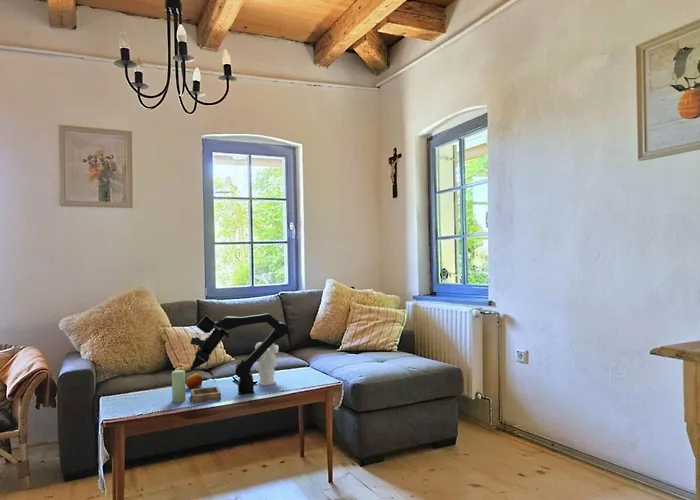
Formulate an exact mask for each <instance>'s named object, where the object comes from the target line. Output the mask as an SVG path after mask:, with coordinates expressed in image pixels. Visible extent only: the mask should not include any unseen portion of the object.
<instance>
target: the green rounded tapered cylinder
mask: <svg viewBox="0 0 700 500" xmlns="http://www.w3.org/2000/svg"><path fill="white" fill-rule="evenodd" d="M171 392H172V393H171V397H172V403H176V404H179V403H183V402H186V398H187V397H186V371H185V370H182V369H178V370H173V371H172V372H171Z"/></svg>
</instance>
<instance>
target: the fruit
mask: <svg viewBox="0 0 700 500" xmlns="http://www.w3.org/2000/svg"><path fill="white" fill-rule="evenodd" d="M203 379H204V378H203V375H201V373H192V374H190V375H188V376H187V378H186V379H185V387H187V388H188V389H190V390H191V389H199V388H200V387H201V388H204V387H203Z"/></svg>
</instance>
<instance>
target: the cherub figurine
mask: <svg viewBox="0 0 700 500" xmlns="http://www.w3.org/2000/svg"><path fill="white" fill-rule="evenodd" d="M262 342H263V341H260V342H257V343H256V344H255V346H254V350H255V349H256V348H257V347H258V346H259V345H260V344H261V343H262ZM279 348H280V347H279V345H278V344H275V342H274V343H273V344H272V345H271V346H270V347H269V348H268V349H267V350H266V351H265V352H264V353H263V355H262V356H261V357H260V358H259V362H258V364H257V366H256V368H255V371H258V375H259V380H258V382H257V384H258V385H260V386H271V385H273V384H276V383H277V381H276V379H275V377H274V376H275V372H276V371H275V368H276V367H277V365H278V361H277V357H276V354H277V353H279Z"/></svg>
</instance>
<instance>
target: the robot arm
mask: <svg viewBox="0 0 700 500" xmlns="http://www.w3.org/2000/svg"><path fill="white" fill-rule="evenodd" d="M262 323H267V324H268V325H269V326H270V327H272V330H271V331H270V333H269V335H268V336H267V337H266V338H264V340H263V341H261V342H262V343H261V344H260V345H259V346H258V347H257V348H256V349H255V348H254V350H253V351H252V352H251V354H249V356H247V357H246V358H244V357H241V358H240V360H239V361H238V362H236V366H235V369H234V370H235V372H234V373H235V375H236V377H238V378H239V379H238V382H237V391H238V393H239V394H240V395H248V394H254V393H255V391H254V388H255V387H254V378H253V372H252V371H251V369H252V368H253V366H254V364H255V363H256V362H257V361H258V360H260V359H261V358H260V357H261V356H262V355H263V353H264V352H265V351H266V350H267V349H269V347H270V346H271V345H272V344H273V343H274V344H275V342H277V341H278V340H280V339H281V338H283V337H284V336H285V335H286V334H288V332H289V327H288V325H287V324H286V323H285V322H283V321H279V320H277V318H275V317H273V316H272V315H271V313H269V312H267V313H266V312H265V313H261V314H255V315H254V314H253V315H246V316H236V315H234V316H233V315H226V316H224V317H223V318H221V319H220V320H216V321H214V320H213V319H212V318H210V317H209V316H208V314H207V315H206V314H205V316H204V317H203V318H201V319H200V320H199V322H198V323H197V325H196V328H197V329H198V330H200V331H201V332H203V333H204V334H209V336H207V337H206V338H203V337H200V336H195V335H193V336H192V337H191V339H190V342H189V343H190V344H191V345H195V346H198V347H197V349H196V352H195V354H194V356H195V357H194V360H193V361H192V363H191V366H190V370H191V371H194V370H195V369H196V368H198V367H200V366H202V365H204V364H205V363H207V362H208V361H209V360H210V358H211V355H212V353H213V352H214V351H215V349H216V348H218V345H219V344H220V343H221V341H222V340H223V339H224V338H225V337H226V338H227V339H229V338H230V330H233V329H235V328H236V329H237V328H238V327H241V326H247V325H255V324H262Z"/></svg>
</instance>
